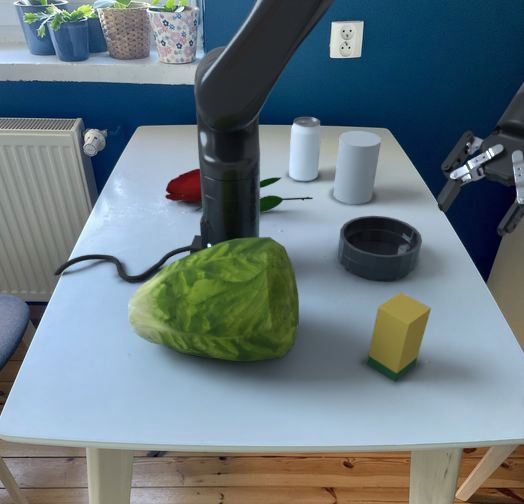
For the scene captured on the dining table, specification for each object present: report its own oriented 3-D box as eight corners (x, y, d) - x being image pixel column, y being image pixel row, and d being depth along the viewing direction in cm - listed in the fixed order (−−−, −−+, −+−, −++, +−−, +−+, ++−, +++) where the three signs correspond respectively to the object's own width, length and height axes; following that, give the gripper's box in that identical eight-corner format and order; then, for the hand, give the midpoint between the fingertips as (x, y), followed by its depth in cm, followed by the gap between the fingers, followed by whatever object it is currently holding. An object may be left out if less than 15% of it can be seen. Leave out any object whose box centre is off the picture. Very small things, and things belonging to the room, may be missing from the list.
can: (315, 183, 118) (320, 128, 110) (286, 180, 119) (289, 125, 111) (319, 171, 123) (324, 117, 115) (291, 168, 124) (294, 114, 116)
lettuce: (156, 368, 83) (147, 262, 83) (307, 354, 80) (298, 244, 80) (111, 374, 67) (99, 243, 67) (299, 358, 63) (286, 219, 63)
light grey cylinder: (379, 200, 113) (388, 143, 105) (344, 206, 110) (352, 148, 102) (359, 184, 118) (367, 128, 110) (326, 190, 116) (332, 133, 108)
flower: (314, 158, 100) (163, 156, 106) (308, 200, 97) (152, 195, 103) (317, 189, 108) (176, 185, 114) (312, 229, 105) (167, 223, 111)
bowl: (336, 279, 91) (339, 253, 88) (337, 237, 101) (340, 213, 98) (419, 285, 90) (426, 259, 86) (412, 243, 100) (417, 218, 97)
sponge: (387, 348, 78) (400, 292, 71) (415, 365, 75) (431, 308, 69) (366, 363, 75) (378, 306, 69) (394, 381, 73) (409, 324, 66)
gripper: (486, 77, 68) (415, 189, 70) (601, 105, 61) (518, 230, 62) (494, 111, 75) (429, 213, 76) (599, 140, 67) (524, 253, 69)
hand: (469, 221), depth 69 cm, fingers open, 8 cm apart
